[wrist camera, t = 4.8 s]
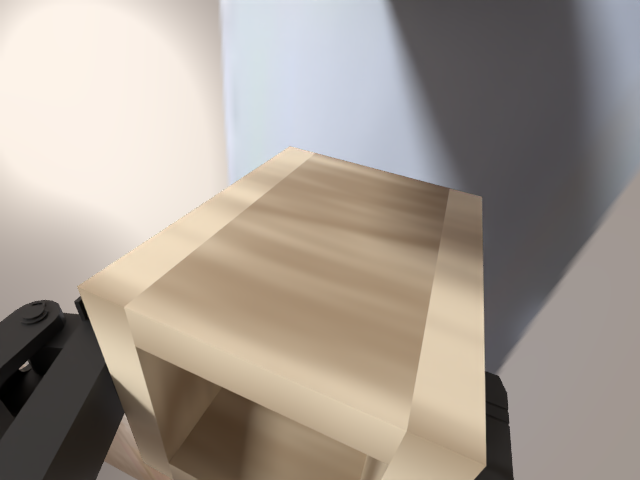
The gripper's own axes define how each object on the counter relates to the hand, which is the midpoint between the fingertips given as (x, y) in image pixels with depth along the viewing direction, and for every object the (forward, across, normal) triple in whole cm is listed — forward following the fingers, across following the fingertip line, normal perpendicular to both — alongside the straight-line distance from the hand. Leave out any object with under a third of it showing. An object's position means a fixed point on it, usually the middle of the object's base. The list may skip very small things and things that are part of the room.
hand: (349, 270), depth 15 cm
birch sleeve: (+2, 0, 0) cm, 2 cm away
